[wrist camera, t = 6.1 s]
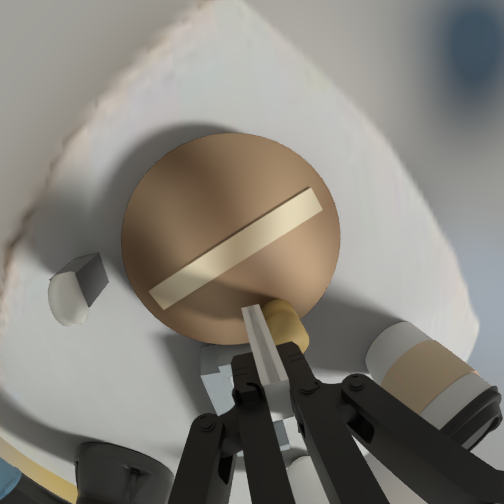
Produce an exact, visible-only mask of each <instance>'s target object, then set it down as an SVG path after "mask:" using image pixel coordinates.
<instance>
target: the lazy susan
mask: <svg viewBox="0 0 504 504" xmlns="http://www.w3.org/2000/svg"><path fill="white" fill-rule="evenodd" d="M121 247H122V257H123V262H124V266H125V270H126V273H127V276H128V278H129V281H130V283H131V285H132V287H133V289H134V291H135V293H136V294H137V296H138V298H139V299H140V300H141V302H142V303H143V304H144V306H145V307H146V308H147V309H148V310H149V311H150V312H151V313H152V314H153V315H154V316H155V317H156V318H157V319H158V320H160V321H161V322H162V323H163V324H165V325H166V326H168V327H169V328H171V329H172V330H174V331H176V332H178V333H180V334H182V335H184V336H186V337H189V338H192V339H195V340H198V341H202V342H206V343H211V344H221V345H237V344H245V343H249V339H248V334H247V330H246V326H245V322H244V318H243V313H242V309H241V308H244V307H248V306H252V305H257V304H259V306H260V309H261V311H262V314H263V316H264V319H265V321H266V324H267V326H268V329H269V331H270V334H271V336H272V339H273V341H274V344H275V345H279V344H283V343H286V342H290V341H292V342H294V343H295V344H297V345H298V346H299V348H300V350H301V352H302V353H304V352H305V350H306V349H307V347H308V345H309V336H308V334H307V332H306V330H305V328H304V327H303V325H302V323H301V321H300V319H301V318H303V317H304V316H305V315H306V314H307V313H308V312H309V311H310V310H311V309H312V308H313V307H314V306H315V305H316V303H317V302H318V301H319V299H320V298H321V297H322V295H323V294H324V292H325V290H326V289H327V287H328V285H329V283H330V281H331V279H332V276H333V274H334V271H335V268H336V265H337V261H338V257H339V249H340V225H339V217H338V213H337V210H336V206H335V203H334V200H333V198H332V196H331V193H330V191H329V189H328V188H327V186H326V184H325V183H324V181H323V179H322V178H321V177H320V175H319V174H318V173H317V172H316V171H315V169H314V168H313V167H312V166H311V165H310V164H309V163H308V162H307V161H306V160H305V159H303V158H302V157H301V156H300V155H298V154H297V153H295V152H294V151H292V150H291V149H290V148H288V147H286V146H284V145H282V144H280V143H278V142H276V141H273V140H270V139H267V138H264V137H261V136H256V135H250V134H243V133H224V134H215V135H209V136H205V137H202V138H198V139H195V140H192V141H190V142H188V143H185V144H183V145H181V146H179V147H177V148H176V149H174V150H172V151H171V152H169V153H167V154H166V155H165V156H164V157H162V158H161V159H160V160H159V161H158V162H156V163H155V164H154V165H153V166H152V167H151V168H150V170H149V171H148V172H147V173H146V174H145V175H144V176H143V178H142V179H141V181H140V182H139V184H138V185H137V187H136V188H135V190H134V192H133V194H132V196H131V198H130V200H129V203H128V206H127V209H126V212H125V215H124V220H123V225H122V235H121Z"/></svg>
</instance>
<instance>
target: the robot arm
mask: <svg viewBox="0 0 504 504" xmlns="http://www.w3.org/2000/svg"><path fill="white" fill-rule="evenodd" d="M241 309H242V313H243V318H244V322H245V326H246V330H247V334H248V339H249V343H250V347H251V350H252V352H249V353H244V354H240V355H236V356H233V358H232V361H231V369H232V375H233V382H234V388H233V390H232V397H233V400H234V403H235V405H234V406H233V407H232V408H231V409H230V410H229V411H227V412H226V413H224V414H221V415H219V416H217V415H216V414H211V413H207V414H202V415H200V416H198V417H197V418H196V419H194V421H193V423H192V425H191V428H190V431H189V434H188V438H187V441H186V444H185V447H184V450H183V454H182V457H181V460H180V463H179V467H178V470H177V473H176V476H175V480H174V476H173V473H172V472H171V471H170V470H169V469H168V468H167V467H166V466H164V465H163V464H161V463H159V462H158V461H156V460H154V459H152V458H150V457H147V456H145V455H143V454H140V453H137V452H135V451H132V450H128V449H125V448H122V447H118V446H114V445H109V444H103V443H84V444H81V445H79V446H78V448H77V451H76V454H75V458H74V464H75V474H76V483H77V490H78V496H77V501H76V504H228V503H229V497H230V492H231V486H232V480H233V474H234V468H235V462H236V456H237V453H238V452H240V451H242V450H243V455H244V461H245V467H246V473H247V479H248V485H249V490H250V496H251V501H252V504H296V503H295V499H294V496H293V492H292V489H291V485H290V482H289V479H288V475H287V471H286V468H285V464H284V461H283V457H282V454H281V450H280V446H279V443H278V439H277V436H276V432H275V428H274V424H273V422H274V421H279V420H283V419H286V418H290V417H293V416H294V415H295V418H296V420H297V424H298V432H299V433H301V435H302V437H303V440H304V442H305V445H306V447H307V450H308V452H309V455H310V457H311V460H312V462H313V465H314V467H315V470H316V472H317V474H318V477H319V479H320V482H321V484H322V486H323V489H324V491H325V494H326V496H327V498H328V501H329V503H330V504H390V503H389V502H388V500H387V498H386V496H385V494H384V493H383V491H382V489H381V487H380V486H379V484H378V482H377V480H376V478H375V476H374V475H373V473H372V471H371V469H370V467H369V466H368V464H367V462H366V460H365V459H364V457H363V455H362V453H361V451H360V450H359V448H358V446H357V444H356V442H355V441H354V439H353V437H352V436H354V437H355V438H356V439H357V440H358V441H359V442H360V443H361V444H362V445H363V446H364V447H365V448H366V449H367V450H368V451H369V452H370V453H371V454H372V455H373V456H375V457H376V458H377V459H378V460H379V461H380V462H381V463H382V464H383V465H384V466H385V467H387V468H388V469H389V470H390V471H391V472H392V473H393V474H394V475H395V476H396V477H398V478H399V479H400V480H401V481H402V482H403V483H404V484H406V485H407V486H408V487H409V488H410V489H411V490H413V491H414V492H415V493H416V494H418V496H420V497H421V498H422V499H423V500H424V501H426V502H427V503H428V504H504V471H501V470H496V469H494V468H493V467H492V466H490V465H489V464H487V463H486V462H484V461H483V460H481V459H480V458H478V457H477V456H475V455H474V454H472V453H471V452H470V451H468V450H467V449H465V448H464V447H462V446H461V445H460V444H458V443H457V442H455V441H454V440H453V439H451V438H450V437H448V436H447V435H446V434H444V433H443V432H441V431H440V430H439V429H437V428H436V427H434V426H433V425H432V424H430V423H429V422H428V421H426V420H425V419H424V418H422V417H421V416H419V415H418V414H417V413H415V412H414V411H413V410H411V409H410V408H409V407H407V406H406V405H405V404H403V403H402V402H401V401H399V400H398V399H397V398H395V397H394V396H393V395H391V394H390V393H389V392H387V391H386V390H385V389H383V388H382V387H381V386H379V385H378V384H377V383H376V382H374V381H373V380H372V379H370V378H369V377H368V376H366V375H364V374H351V375H349V376H347V377H346V378H345V379H344V380H343V381H342V383H337V384H326V383H322V382H321V381H320V380H318V379H316V378H315V377H314V375H313V373H312V371H311V369H310V367H309V365H308V363H307V361H306V359H305V358H304V355H303V353H302V352H301V350H300V348H299V346H298V345H297V344H295V343H294V342H292V341H290V342H286V343H283V344H279V345H275V344H274V341H273V339H272V336H271V334H270V331H269V329H268V326H267V324H266V321H265V319H264V316H263V314H262V311H261V309H260V306H259V304H257V305H252V306H248V307H244V308H241ZM0 504H72V503H70V502H69V501H67V500H65V499H63V498H61V497H59V496H58V495H56V494H54V493H52V492H51V491H49V490H47V489H46V488H44V487H43V486H41V485H39V484H38V483H36V482H35V481H33V480H32V479H30V478H29V477H27V476H26V475H25V474H23V473H22V472H21V471H20V470H19V469H18V468H16V467H14V466H12V465H10V464H9V463H8V462H6V461H5V460H3V459H2V458H1V457H0Z"/></svg>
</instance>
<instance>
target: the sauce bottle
mask: <svg viewBox="0 0 504 504" xmlns="http://www.w3.org/2000/svg"><path fill="white" fill-rule="evenodd" d="M286 471H287V475H288V479H289V482H290V485H291V489H292V492H293V496H294V499H295V503H296V504H330V503H329V501H328V498H327V496H326V494H325V491H324V489H323V486H322V484H321V482H320V479H319V477H318V474H317V472H316V470H315V467H314V465H313V462H312V460H311V457H310V456H302V457H299V458H298V459H296V460H295V461H293V462H292V464H291V465H290V466H289V467H288V468H287V470H286Z"/></svg>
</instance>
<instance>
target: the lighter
mask: <svg viewBox="0 0 504 504" xmlns="http://www.w3.org/2000/svg"><path fill="white" fill-rule="evenodd" d="M108 283H109V281H108V278H107V276H106V273H105V270H104V267H103V264H102V261H101V258H100V255H99V253H96V254H92V255H88V256H84V257H80V258H77V259H74V260H73V261H71V262H70V263H69V264H68V265H66V266H65V267H64V268H63V269H61V270H60V271H59V272H58V273H57V274H55V275H54V276H53V277H52V278H51V279H50V284H49V288H48V300H49V305H50V309H51V311H52V314H53V315H54V317H55V319H56V320H57V321H58V322H59V323H60V324H62V325H64V326H72V325H79V324H82V323H84V322H85V320H86V319H87V316H88V311H89V307H90V306H91V305H92V303H93V302H94V301H95V299H96V298H97V297H98V296H99V294H100V293H101V292H102V290H103V289H104V288H105V286H106V285H107V284H108Z"/></svg>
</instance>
